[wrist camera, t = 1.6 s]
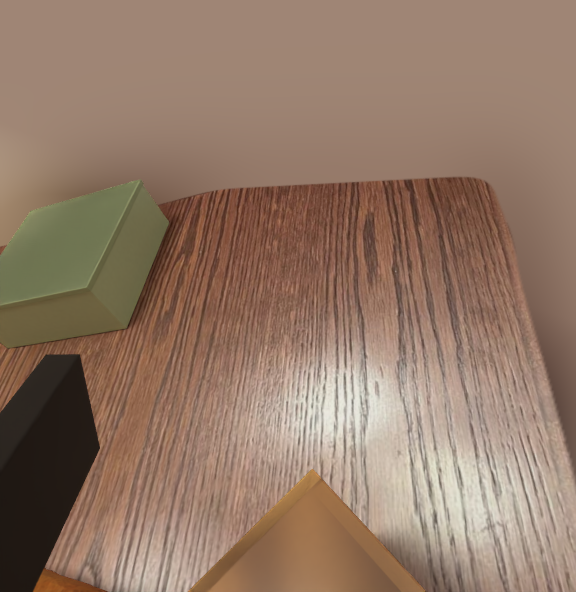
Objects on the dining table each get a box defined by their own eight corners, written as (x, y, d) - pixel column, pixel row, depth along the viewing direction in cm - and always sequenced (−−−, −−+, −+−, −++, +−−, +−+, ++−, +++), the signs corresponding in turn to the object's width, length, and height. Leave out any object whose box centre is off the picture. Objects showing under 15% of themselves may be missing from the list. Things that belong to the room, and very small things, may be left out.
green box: (170, 221, 57) (140, 179, 53) (127, 329, 48) (86, 287, 43) (65, 247, 63) (30, 210, 59) (6, 349, 53) (-40, 313, 49)
